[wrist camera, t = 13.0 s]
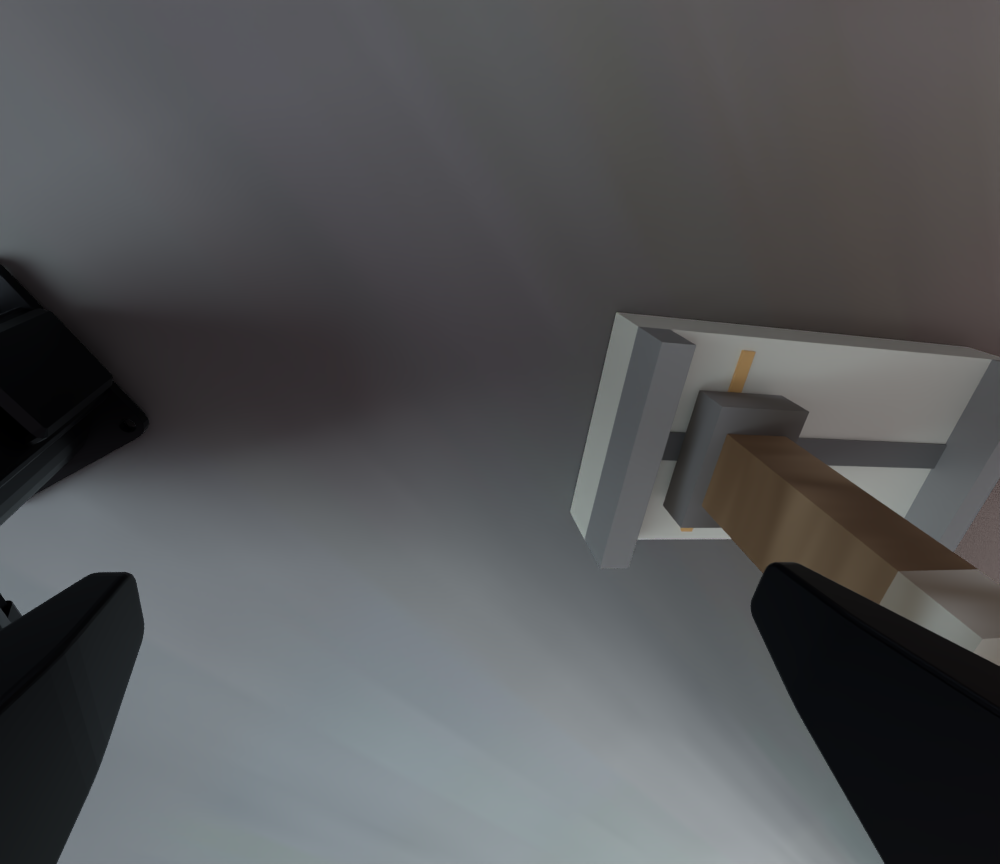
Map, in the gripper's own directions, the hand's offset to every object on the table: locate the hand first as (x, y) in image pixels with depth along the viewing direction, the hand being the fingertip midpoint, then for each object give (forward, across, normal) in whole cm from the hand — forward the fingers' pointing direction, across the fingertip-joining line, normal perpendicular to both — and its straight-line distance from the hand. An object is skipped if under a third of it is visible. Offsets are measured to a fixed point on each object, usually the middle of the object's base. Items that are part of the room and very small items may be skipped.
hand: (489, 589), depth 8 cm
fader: (+11, -11, +3) cm, 16 cm away
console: (+13, -15, +3) cm, 20 cm away
